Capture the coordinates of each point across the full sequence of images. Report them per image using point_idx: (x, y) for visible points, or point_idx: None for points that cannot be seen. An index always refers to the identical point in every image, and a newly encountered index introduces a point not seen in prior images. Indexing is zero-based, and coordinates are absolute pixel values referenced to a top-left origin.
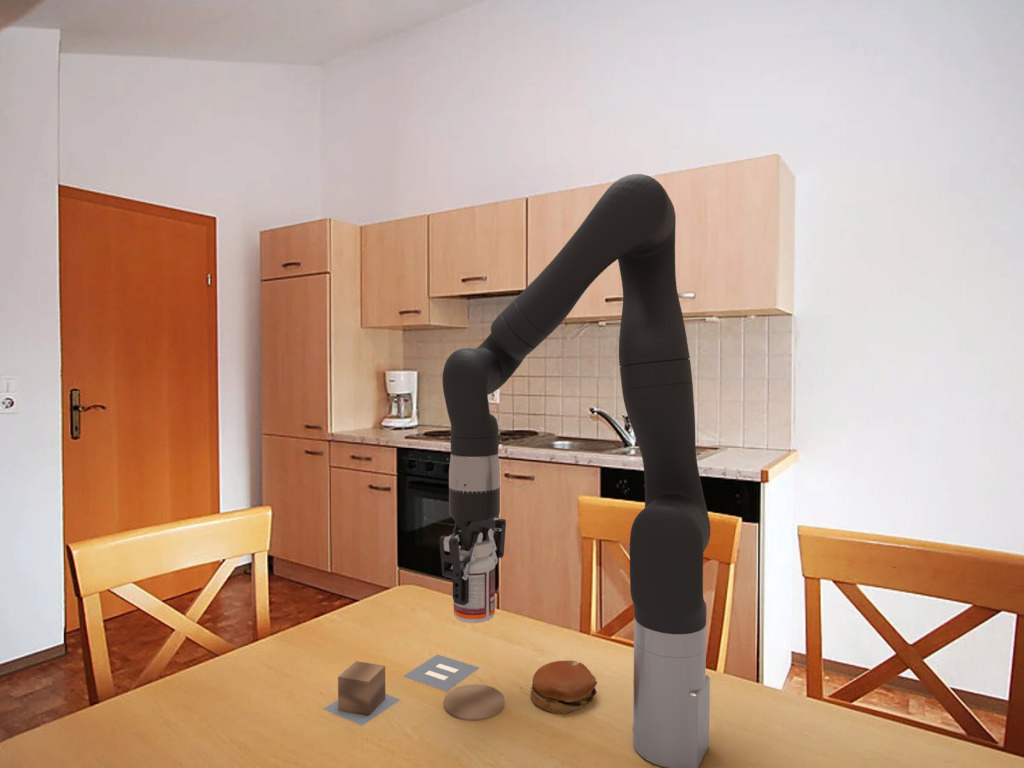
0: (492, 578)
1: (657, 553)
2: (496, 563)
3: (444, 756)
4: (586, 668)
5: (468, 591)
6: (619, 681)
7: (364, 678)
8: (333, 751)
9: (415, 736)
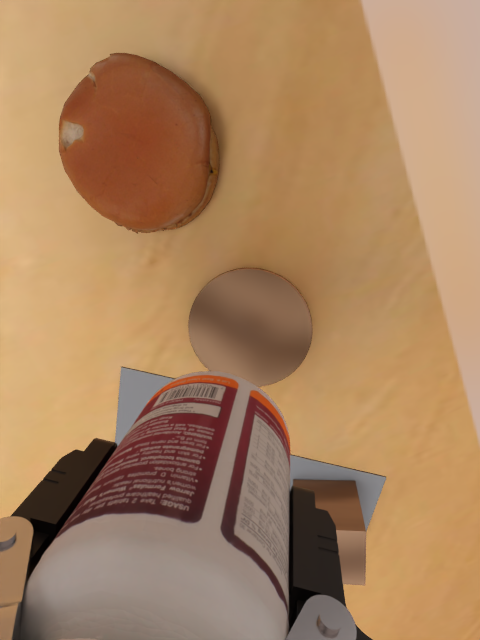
0: (176, 473)
1: None
2: (5, 519)
3: (434, 312)
4: (78, 93)
5: (295, 525)
6: (21, 39)
7: (355, 542)
8: (467, 485)
9: (388, 385)
